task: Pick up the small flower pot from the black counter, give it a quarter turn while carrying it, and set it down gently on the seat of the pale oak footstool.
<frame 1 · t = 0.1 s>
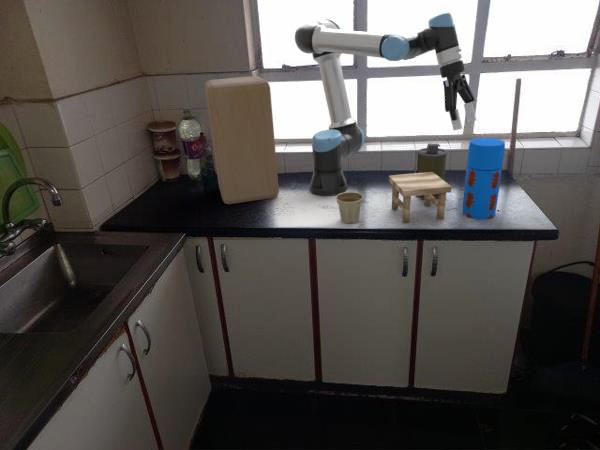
hand: (465, 125, 150), 28 cm above the worktop, tool tilted 20°, fingers open, 13 cm apart
canister: (428, 196, 168), on the worktop
block: (248, 193, 182), on the worktop
thermos: (478, 213, 151), on the worktop
footstool: (416, 213, 154), on the worktop
flower pot: (349, 220, 152), on the worktop
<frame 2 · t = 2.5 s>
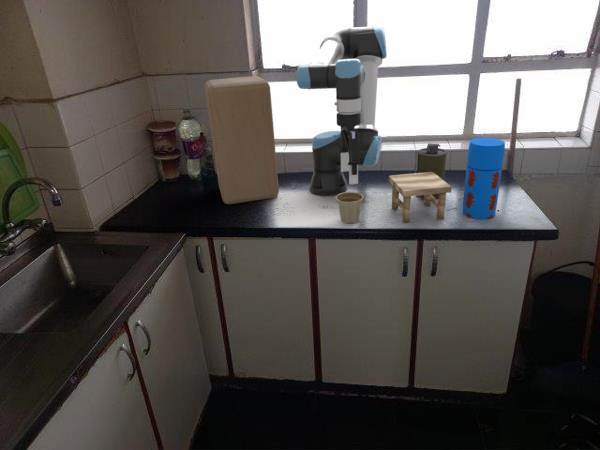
hand: (349, 177, 145), 16 cm above the worktop, tool pointing down, fingers open, 13 cm apart
nothing on the worktop moved.
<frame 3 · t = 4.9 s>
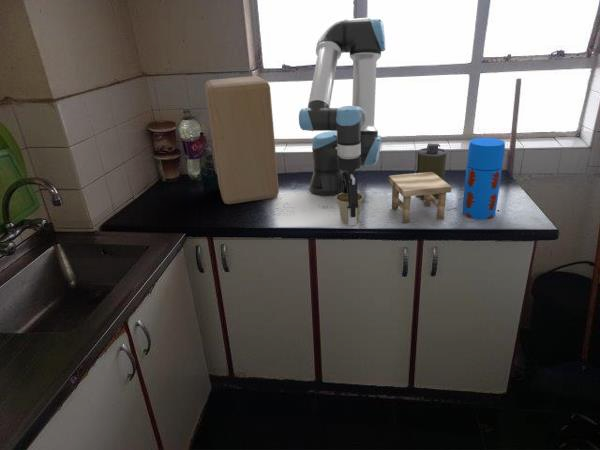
hand: (349, 219, 152), 0 cm above the worktop, tool pointing down, fingers closed on flower pot, 8 cm apart
flower pot: (349, 220, 152), on the worktop, touching gripper
everything else where it was.
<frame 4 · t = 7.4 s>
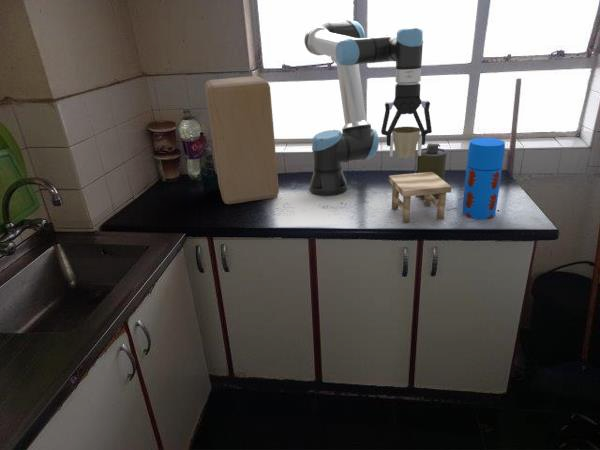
hand: (405, 154, 144), 22 cm above the worktop, tool pointing down, fingers closed on flower pot, 8 cm apart
flower pot: (405, 156, 144), point 21 cm above the worktop, touching gripper
everything else where it was.
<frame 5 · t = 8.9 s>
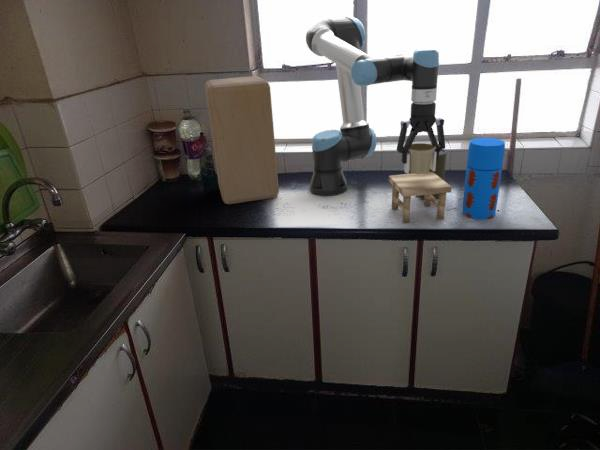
hand: (419, 171, 147), 16 cm above the worktop, tool pointing down, fingers closed on flower pot, 8 cm apart
flower pot: (419, 172, 147), point 15 cm above the worktop, touching gripper
everything else where it was.
when the fingers open (13 cm above the worktop, at t = 9.8 s): flower pot moves 3 cm, resting on footstool.
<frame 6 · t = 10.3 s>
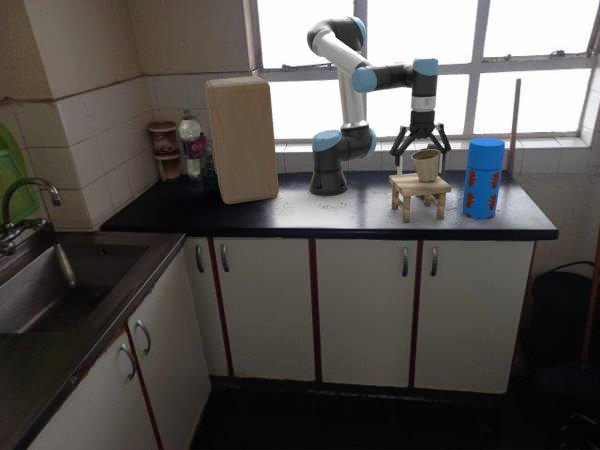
hand: (419, 173, 148), 15 cm above the worktop, tool pointing down, fingers open, 13 cm apart
flower pot: (428, 178, 149), point 12 cm above the worktop, touching footstool, gripper
everything else where it was.
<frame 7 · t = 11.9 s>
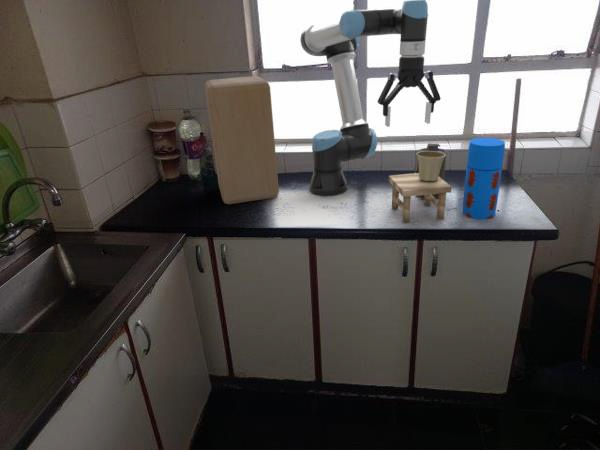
hand: (407, 124, 145), 30 cm above the worktop, tool pointing down, fingers open, 13 cm apart
flower pot: (428, 179, 149), point 12 cm above the worktop, touching footstool
everything else where it was.
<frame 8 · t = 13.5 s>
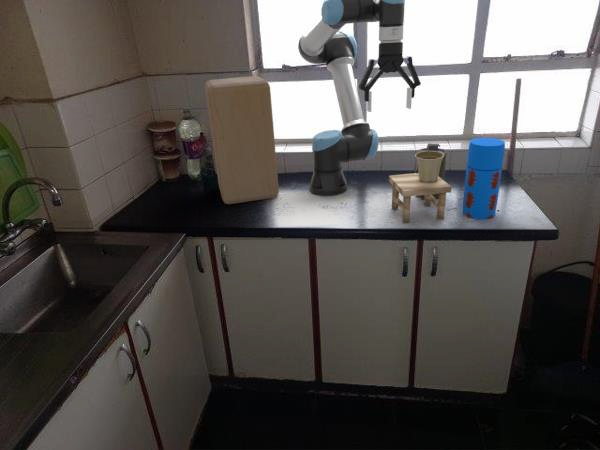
hand: (389, 109, 148), 35 cm above the worktop, tool pointing down, fingers open, 13 cm apart
at the end: flower pot inside the target area on the footstool (3.5 cm from its centre), point 11.9 cm above the footstool's base; flower pot tilted 2°; the gripper is holding nothing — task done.
